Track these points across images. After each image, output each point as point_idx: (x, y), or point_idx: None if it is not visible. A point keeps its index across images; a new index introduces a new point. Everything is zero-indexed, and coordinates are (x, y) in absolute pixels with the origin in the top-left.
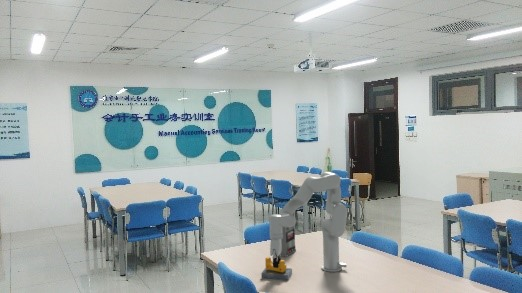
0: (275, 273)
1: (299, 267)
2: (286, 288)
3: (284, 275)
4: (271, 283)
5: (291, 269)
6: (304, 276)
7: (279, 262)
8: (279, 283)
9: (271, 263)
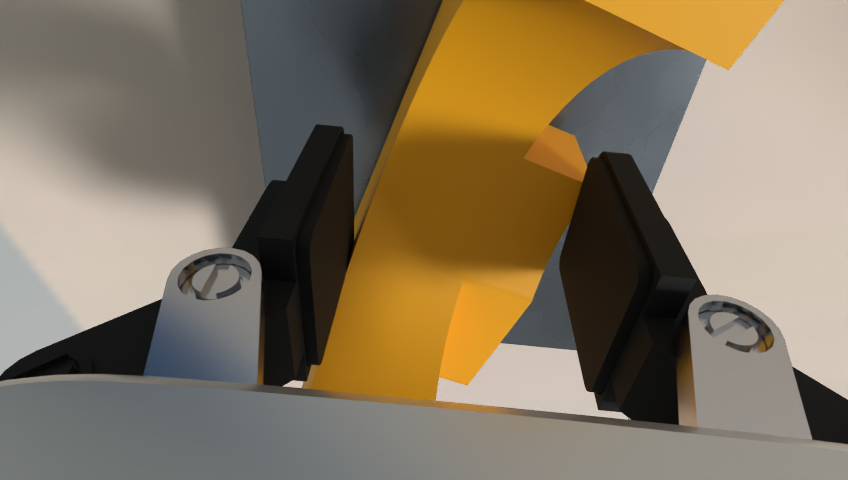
0: (299, 127)
1: (825, 356)
2: (37, 271)
3: None
4: (77, 48)
5: (549, 347)
6: (475, 404)
7: (318, 365)
8: (145, 174)
9: (533, 54)
